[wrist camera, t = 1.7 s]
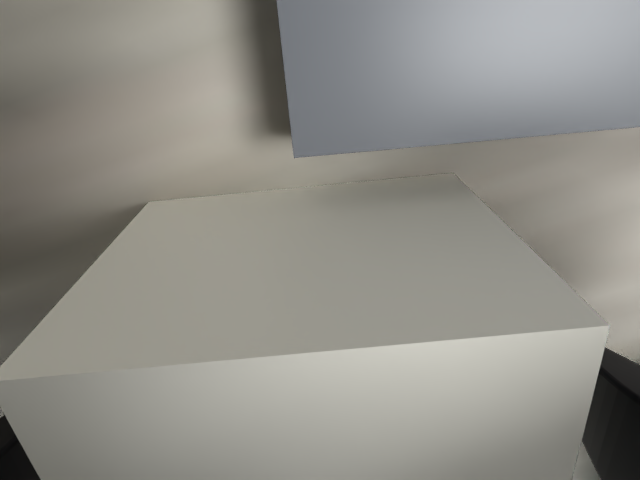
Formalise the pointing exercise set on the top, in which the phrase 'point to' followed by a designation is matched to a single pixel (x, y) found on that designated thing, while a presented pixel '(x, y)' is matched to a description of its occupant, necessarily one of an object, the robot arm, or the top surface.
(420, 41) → the baseplate
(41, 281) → the top surface
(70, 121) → the top surface
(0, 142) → the top surface
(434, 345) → the cream brick
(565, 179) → the top surface
